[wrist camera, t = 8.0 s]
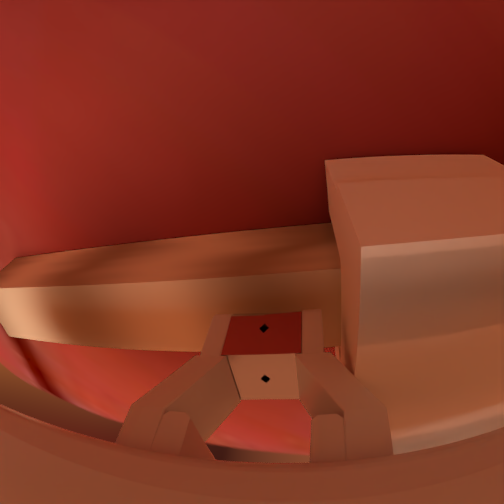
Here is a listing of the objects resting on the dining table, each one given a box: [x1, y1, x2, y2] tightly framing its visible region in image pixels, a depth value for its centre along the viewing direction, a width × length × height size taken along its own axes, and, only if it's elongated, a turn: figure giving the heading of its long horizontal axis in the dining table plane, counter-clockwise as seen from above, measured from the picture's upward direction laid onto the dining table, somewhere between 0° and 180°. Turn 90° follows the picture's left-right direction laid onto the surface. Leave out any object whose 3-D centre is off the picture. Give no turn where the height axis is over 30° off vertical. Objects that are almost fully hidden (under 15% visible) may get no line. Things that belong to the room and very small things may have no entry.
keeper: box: [325, 154, 504, 455], centre depth 8 cm, size 6×8×6 cm
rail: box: [0, 223, 341, 352], centre depth 10 cm, size 28×6×5 cm, turn 100°
